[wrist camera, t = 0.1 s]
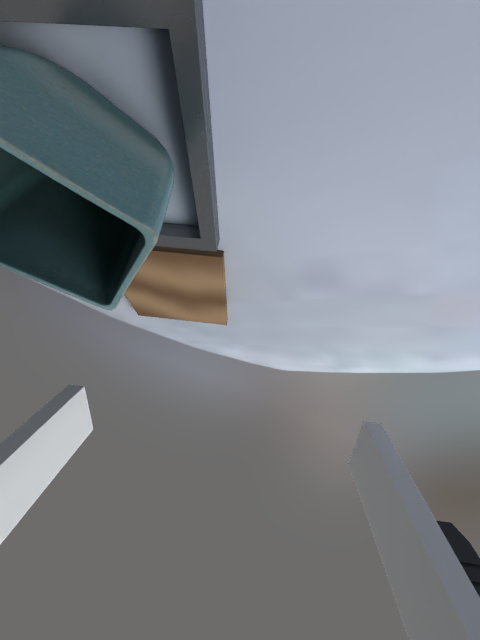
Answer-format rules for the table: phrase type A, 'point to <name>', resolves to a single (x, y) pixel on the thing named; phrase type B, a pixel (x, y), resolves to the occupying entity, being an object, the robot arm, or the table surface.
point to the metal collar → (192, 80)
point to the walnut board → (181, 285)
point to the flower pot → (75, 183)
